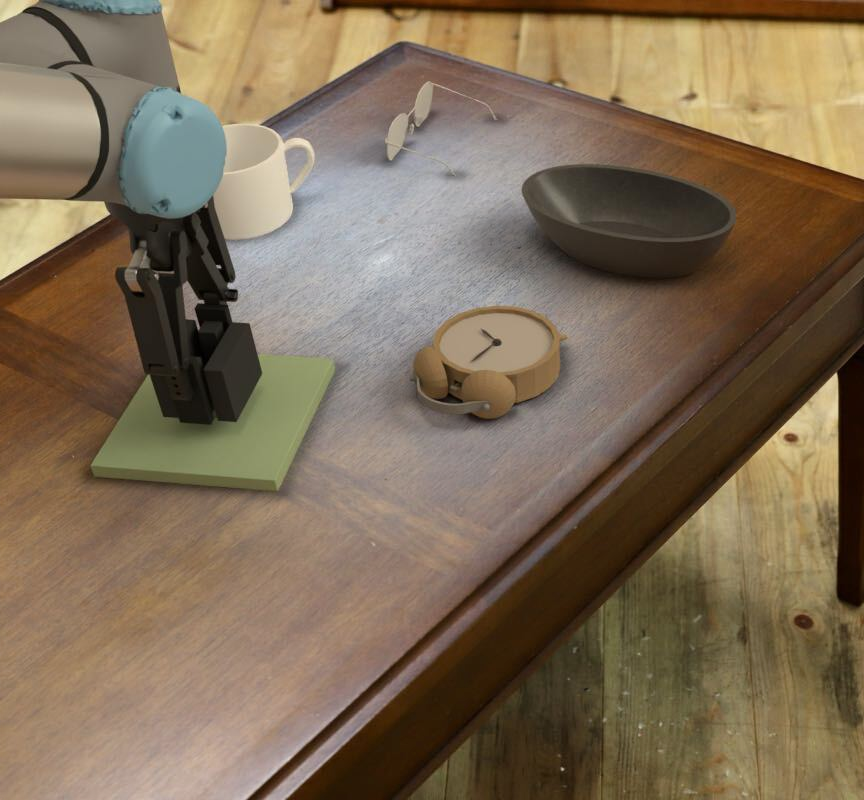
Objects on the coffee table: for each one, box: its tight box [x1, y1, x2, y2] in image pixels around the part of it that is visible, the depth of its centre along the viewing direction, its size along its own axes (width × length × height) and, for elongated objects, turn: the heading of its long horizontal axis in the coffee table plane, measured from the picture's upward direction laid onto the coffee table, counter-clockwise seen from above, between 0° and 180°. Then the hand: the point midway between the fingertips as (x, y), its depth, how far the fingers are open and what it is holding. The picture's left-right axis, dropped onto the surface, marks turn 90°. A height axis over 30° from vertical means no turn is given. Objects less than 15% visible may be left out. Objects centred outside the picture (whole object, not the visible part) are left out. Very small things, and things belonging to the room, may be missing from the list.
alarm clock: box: [409, 305, 568, 420], centre depth 121 cm, size 11×5×15 cm
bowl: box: [521, 163, 738, 279], centre depth 135 cm, size 12×22×6 cm, turn 65°
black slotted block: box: [150, 318, 262, 422], centre depth 116 cm, size 6×6×6 cm
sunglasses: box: [384, 81, 498, 177], centre depth 154 cm, size 14×8×5 cm, turn 163°
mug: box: [213, 123, 316, 241], centre depth 143 cm, size 13×10×8 cm
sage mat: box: [90, 353, 336, 492], centre depth 118 cm, size 16×16×3 cm
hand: (212, 392), depth 117 cm, fingers closed on black slotted block, 6 cm apart
